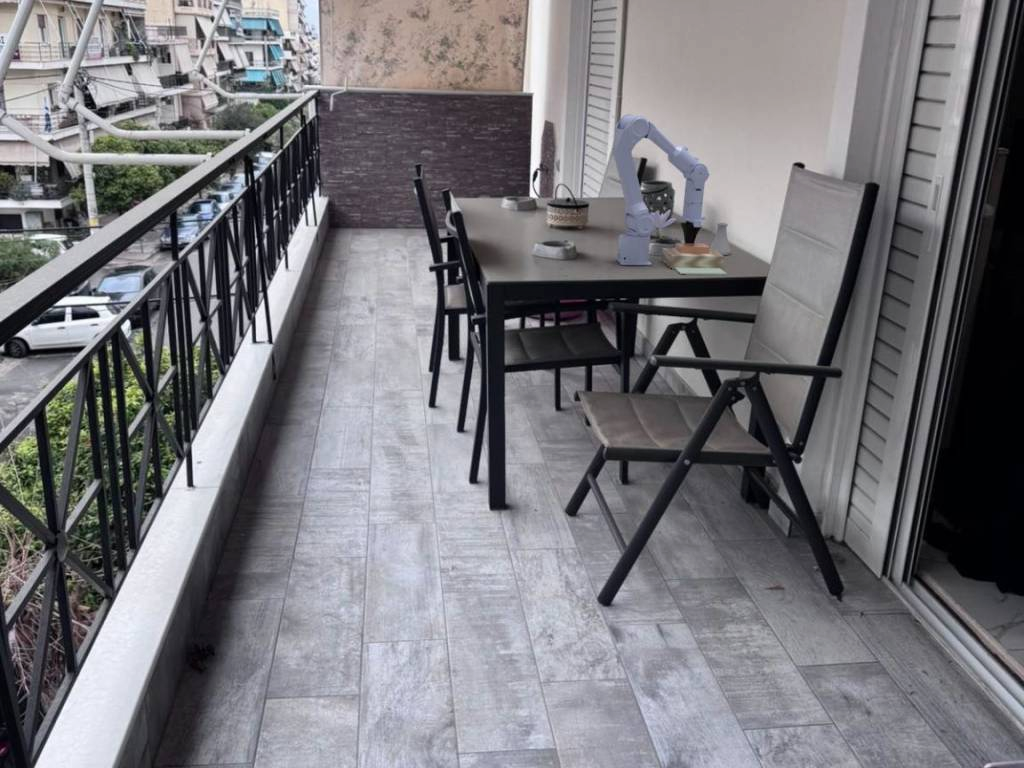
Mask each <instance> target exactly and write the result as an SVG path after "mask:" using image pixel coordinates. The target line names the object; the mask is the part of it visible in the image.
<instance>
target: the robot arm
mask: <svg viewBox="0 0 1024 768" xmlns="http://www.w3.org/2000/svg"><path fill="white" fill-rule="evenodd" d="M613 138H614V140H613V142H612V146H611V147H612V154H613V157H614V161H615V165H616V169H617V173H618V178H619V181H620V182H619V183H620V185H621V188H622V193H623V197H624V201H625V208H624V212H625V213H624V226H625V227H626V228H627V230H626V233H622V234H621V233H620V234H619V235H618V239H617V240H618V242H617V254H616V261H617V262H618V264H619V265H620V266H652V262H650V260H649V256H650V255H649V254H650V253H649V252H650V242H651V234H652V233H653V232H652V231H653V229H654V225H655V223H654V219H653V218H652V217H651V216H650V212H649V208H648V207H647V205H646V204H645V202H644V198H643V194H642V191H641V190H642V189H641V187H640V186H641V185H640V182H639V178H638V174H637V170H636V166H635V161H634V156H633V153H632V151H633V150H634V148H635V146H636V145H637V144H638V143H640V142H641V140H643V139H648V140H649V141H650V142H652V143H653V144H654V145H656V146H657V147H658V148H659V149H660V150H661V151H663V152H664V153H665V154H666V155H667V160H668V162H669V163H670V164H671V165H672V166H673V167H675V169H677V170H678V171H679V172H680V173H681V174H682V175H683V178H684V179H685V185H684V195H683V197H684V198H683V206H682V215H681V220H682V221H685V222H680V226H681V228H682V231H683V232H682V233H683V237H684V239H683V240H684V243H695V241H696V239H697V235H698V233H699V232H700V230H701V229H702V221H703V220H705V219H706V217H705V216H702V213H703V204H704V195H705V194H704V193H705V185H706V182H707V180H708V179H709V176H710V173H709V170H708V167H707V166H706V165H705V164H704V163H701V162H699V161H700V160H699V158H698V157H696V156H695V157H694V156H693V155H692V154H691V153H690V152H689V148H688V147H686V146H682V145H675V144H674V143H673V142H672V141H671V140H670V139H669V138H668V137H667V136H666V135H665V134H664V133H663V132H662V131H661V130H660V129H659V128H658V127H657V126H656V125H654V123H652V122H651V121H648V119H647V118H645V116H642V115H641V116H640V115H639V116H638V115H637V116H636V115H634V114H629V113H628V114H625V115H623V116H622V117H620V119H619V121H618V122H617V123H616V125H615V135H614V137H613ZM651 232H652V233H651Z"/></svg>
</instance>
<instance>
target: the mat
mask: <svg viewBox="0 0 1024 768" xmlns="http://www.w3.org/2000/svg"><path fill="white" fill-rule="evenodd" d="M675 269H676V270H675ZM673 270H675V271H676V272H677V273H678V272H679V273H680V274H686V275H687V276H728V273H727V271H724V269H723V270H722V269H720V268H679V267H674V269H673ZM679 273H678V274H679ZM680 274H679V275H680ZM686 275H685V276H686Z"/></svg>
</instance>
